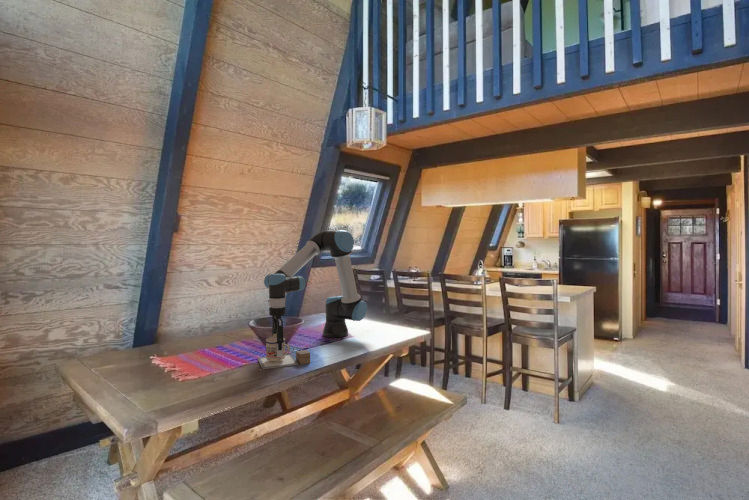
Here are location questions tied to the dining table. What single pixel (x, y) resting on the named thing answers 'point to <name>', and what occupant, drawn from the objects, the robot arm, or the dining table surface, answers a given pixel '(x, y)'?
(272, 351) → the teacup with lid
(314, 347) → the dining table surface
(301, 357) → the walnut block
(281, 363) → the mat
